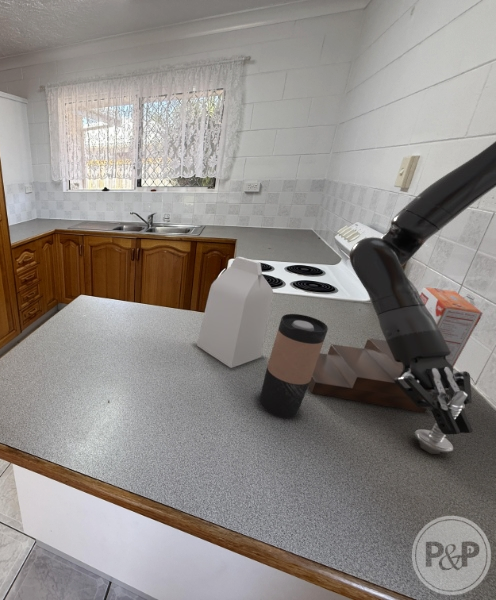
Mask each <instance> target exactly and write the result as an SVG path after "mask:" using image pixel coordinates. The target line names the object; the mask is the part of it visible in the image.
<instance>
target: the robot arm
mask: <svg viewBox="0 0 496 600" xmlns="http://www.w3.org/2000/svg"><path fill="white" fill-rule="evenodd" d="M495 188H496V140H495V141H494V142H492V143H491V144H490V145H489V146H487V147H486V148H485V149H483V150H482V151H481V152H479V153H478V154H476V155H475V156H473V157H472V158H470V159H469V160H467V161H466V162H463V163H462V164H461V165H459V166H458V167H456V168H454V169H453V170H451V171H450V172H448V173H446V174H445V175H443V176H442V177H440V178H438V179H437V180H436V181H434V182H433V183H431V184H430V185H429V186H428V187H426V188H425V189H424V190H422V191H421V192H420V193H419V194H418V195H417V196H415V197H414V198H413V199H412V200H411V201H410V202H409V203H408V204H406V205H405V206H404V207H403V208H402V209H400V210H399V211H398V212H397V214H395V215H394V217H393V218H392V219H391V221H390V227H389V229H388V230H387V231H386V232H385V233H384V234H383V235H382V236H381V237H375V236H374V237H373V236H372V237H366V238H363V239H361V240H359V241H357V242H356V243H355V244H354V245H352V248H351V249H350V251H349V255H348V257H349V262H350V265H351V267H352V269H353V271H354V273H355V275H356V277H357V278H358V280H359V281H360V283H361V285H362V286H363V288H364V289H365V291H366V293H367V295H368V297H369V301H370V303H371V306H372V308H373V311H374V313H375V314H376V317H377V319H378V323H379V327H380V330H381V332H382V334H383V336H384V340H386V341H387V343H388V346H389V348H390V350H391V353H392V355H393V357H394V359H395V361H397V362H402V364H403V372H404V374H403V375H402V376H401V377H398V378H395V379H394V382H395V383H396V384H397V385H398V386H399V387H400V388H401V389H402V391H403V392H404V393H405V394H406V395H407V396H408V397H409V398H410V399H411V400H412V401H413V402H414V403H415V404H416V406H417V407H419V408H426V409H427V410H428V411H429V412H431V415H432V416H433V419H434V421H435V423H437V425H438V427H439V429H440V430H441V432H442V433H443V434H446V435H459V434H470V433H473V428H472V425H471V423H470V420H469V418H468V416H467V414H466V412H465V410H464V409H465V408H466V405H471V404H472V403H473V399H472V398H473V397H472V385H471V375H470V373H469V371H466V370H465V371H459V370H456V369H454V367H452V365H451V364H450V363H449V362H448V361H447V360H446V358H445V357H446V356H448V355H450V353H451V351H450V349H449V347H448V345H447V343H446V341H445V339H444V338H443V336H442V334H441V332H440V330H439V328H438V326H437V324H436V322H435V320H434V318H433V316H432V315H431V314H430V312H429V311H428V310H427V308H426V306H425V305H424V303H423V301H422V299H421V297H420V295H421V294H420V293H419V291H418V288H417V287H416V286H415V284H414V283H413V282H412V281H411V280H410V279H409V278H408V277H407V274H406V273H405V270H404V268H403V266H404V265H405V264H406V263H407V262H408V261H409V260H410V259H411V258H412V257H413V256H414V255H415V254H416V253H417V252H418V251H419V250H420V248H422V247H423V245H424V244H425V243H426V242H427V241H428V240H429V239H430V238H431V237H433V236H434V235H436V234H437V233H438V232H439V231H441V230H442V229H443V228H444V227H446V226H447V225H448V224H449V223H451V222H452V221H453V220H454V219H456V218H457V217H458V216H460V215H461V214H462V213H463V212H464V211H466V210H467V209H468V208H469V207H470V206H472V205H473V204H474V203H476V202H477V201H478V200H480V199H481V198H482V197H484V196H485V195H487V194H488V193H489V192H491V191H493V189H495ZM426 390H431V392H427V391H426ZM456 391H464V392H465V393H466V394H467V395H468V396H467V397H466V399H465V400H464V402H463V404H462V405H463V407H462V410H461V411H460V413H459V415H458V416H457V418H456V419H455V420H454V418H453V416H452V414H451V411H450V410H449V411H446V410H448V406H447V404H448V403H447V402H450V401H451V399H452V397H453V396H454V394H455V392H456ZM418 396H420V397H422V398H423V400H421V399H420V398H419V397H418ZM432 396H434V398H432Z"/></svg>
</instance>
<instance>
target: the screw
mask: <svg viewBox="0 0 496 600" xmlns="http://www.w3.org/2000/svg"><path fill="white" fill-rule="evenodd" d="M467 396H468V395H467V394H466V393H465V392H464V391H456V392H455V394H454V396H453V397H452V399H451V401H450V402H447V403H448V404H447V406H448V410H446V411H449V410H450V411H451V414H452V416H453V418H454V420H455V419H456V418H457V416H458V415H459V413H460V411H461V410H462V407H463V405H462V404H463V402H464V400H465V399H466V397H467ZM414 436H415V438H416V439H417V440H418V443H419V448H421V449H422V450H423V451H426V452H427V453H429V454H434V455H440V453H451V452H453V450H454V446H453V444H452V443H451V442H450V440H448V439H447V438H446V437H447V434H443V433H442V432H441V430H440V429H439V427H438V425H437V423H436V422H434V424H433V425H432V427H431V429H423V428H422V429H417V430H415V432H414Z"/></svg>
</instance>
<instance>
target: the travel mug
mask: <svg viewBox="0 0 496 600" xmlns="http://www.w3.org/2000/svg"><path fill="white" fill-rule="evenodd" d="M328 329H329V328H328V325H327V324H326V323H325V322H323V321H322V320H320V319H317V318H316V317H312V316H309V315H305V314H299V313H288V314H287V313H286V314H284V315H282V316H281V318H280V321H279V325H278V329H277V332H276V335H275V339H274V342H273V345H272V348H271V349H272V350H271V353H270V356H269V359H268V362H267V366H266V369H265V375H264V379H263V384H262V387H261V392H260V396H259V404H260V406H261V407H262V409H264V411H266V412H267V413H269V414H271V415H272V416H275V417H278V418H282V419H292V418H295V417H296V416H297V415H298V413H299V411H300V408H301V405H302V403H303V400H304V398H305V396H306V393H307V390H308V389H309V387H308V386H309V383H310V380H311V378H312V375H313V372H314V369H315V366H316V363H317V360H318V357H319V354H320V353H321V351H322V348H323V345H324V342H325V339H326V336H327V333H328Z"/></svg>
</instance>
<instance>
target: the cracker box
mask: <svg viewBox="0 0 496 600" xmlns="http://www.w3.org/2000/svg"><path fill="white" fill-rule="evenodd" d="M419 295H420V297H421V299H422V301H423V303H424V305H425V306H426V308H427V310H428V311H429V312H430V314H431V315H432V316H433V318H434V320H435V322H436V324H437V326H438V328H439V330H440V332H441V334H442V336H443V338H444V339H445V341H446V343H447V345H448V347H449V349H450V351H451V353H450V355H448V356H446V357H445V358H446V360H447V361H448V362H449V363H450V364H451V365H452V367H453V368H454V367H455V365H456V363H457V362H458V359H459V358H460V356H461V355H462V352H463V351H464V349H465V347H466V345H467V343H468V341H469V339H470V338H471V336H472V334H473V332H474V331H475V329H476V327H477V325H478V324H479V321H480V320H481V318H482V316H483V314H484V313H483V311H481V310H479V309H478V308H477V307H476V306H474V305H473V304H472V303H471V302H469V301H468V300H467V299H466V298H464V297H463V296H462V295H461V294H459V292H457V291H455V290H448V289H442V288H436V287H430V286H429V287H427V286H425V287H423V288H422V290H421V292H420V294H419Z"/></svg>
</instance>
